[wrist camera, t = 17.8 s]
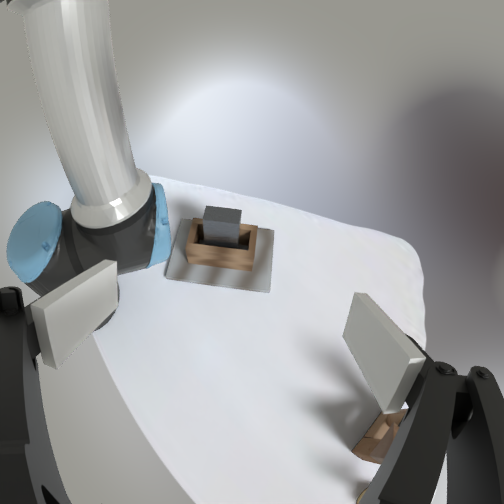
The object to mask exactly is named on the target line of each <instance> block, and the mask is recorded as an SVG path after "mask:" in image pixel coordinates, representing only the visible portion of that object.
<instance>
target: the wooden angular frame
mask: <svg viewBox="0 0 504 504" xmlns="http://www.w3.org/2000/svg"><path fill="white" fill-rule="evenodd" d="M407 410H408V409H401V410H400V411H399V412H398V413H390V414H383V412H381V413H380V415H379V416H378V418H377V419H376V420H375V422H374V423H373V424H372V426H371V427H370V429H369V430H368V431H367V433H366V434H365V435H364V437H363V438H362V439H361V440H360V441H359V443H358V444H357V445H356V446H355V448H354V449H353V450H352V453H354V454H355V455H356V456H358V457H359V458H361V459H362V460H365V461H369V462H373V463H377V464H382V462H383V460H384V458H385V456H386V454H387V452H388V450H389V448H390V446H391V444H392V442H393V440H394V438H395V436H396V433H397V431H398V429H399V427H398V425H399V423H400V421H401V420H402V418H403V416H404V415H405V413H406V411H407Z"/></svg>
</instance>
